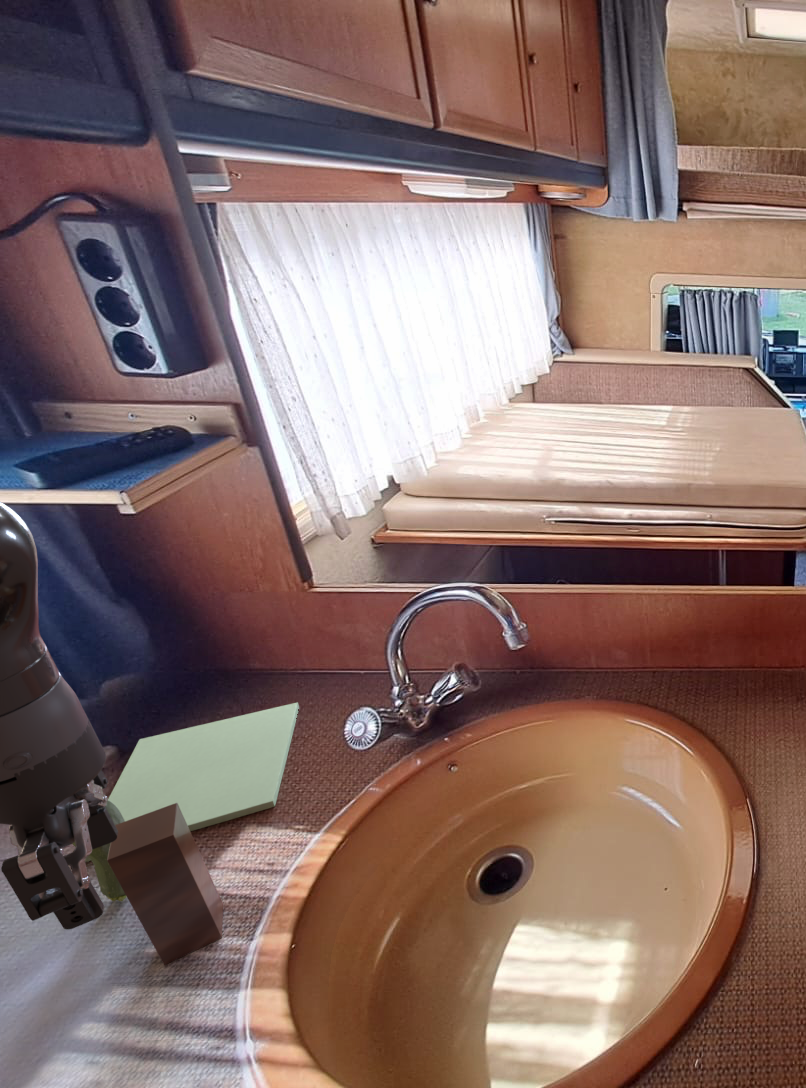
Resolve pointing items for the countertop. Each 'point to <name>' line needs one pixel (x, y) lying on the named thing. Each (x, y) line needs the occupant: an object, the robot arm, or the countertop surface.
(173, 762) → the cutting board
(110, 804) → the vegetable
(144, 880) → the walnut block
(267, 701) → the countertop surface
